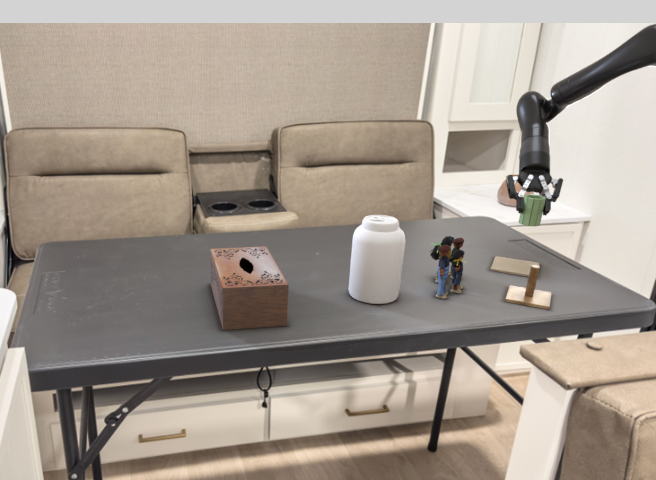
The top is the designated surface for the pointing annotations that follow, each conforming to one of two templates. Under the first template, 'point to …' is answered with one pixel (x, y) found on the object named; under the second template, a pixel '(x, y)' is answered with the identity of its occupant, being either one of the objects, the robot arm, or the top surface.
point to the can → (377, 260)
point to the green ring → (532, 210)
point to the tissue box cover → (248, 288)
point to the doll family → (445, 257)
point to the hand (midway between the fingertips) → (533, 212)
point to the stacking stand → (529, 292)
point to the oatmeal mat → (512, 266)
